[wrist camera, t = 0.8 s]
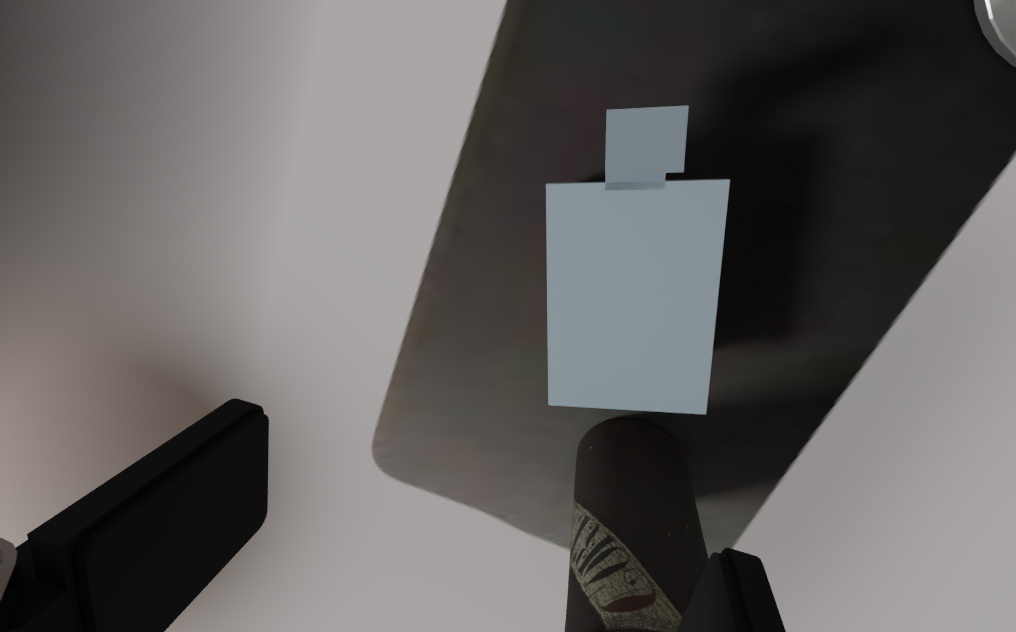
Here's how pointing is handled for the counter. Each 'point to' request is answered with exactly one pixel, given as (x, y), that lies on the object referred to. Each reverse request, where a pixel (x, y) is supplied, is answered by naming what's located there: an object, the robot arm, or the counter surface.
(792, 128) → the counter surface
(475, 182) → the counter surface
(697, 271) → the lid
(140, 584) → the robot arm
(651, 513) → the container
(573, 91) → the counter surface
